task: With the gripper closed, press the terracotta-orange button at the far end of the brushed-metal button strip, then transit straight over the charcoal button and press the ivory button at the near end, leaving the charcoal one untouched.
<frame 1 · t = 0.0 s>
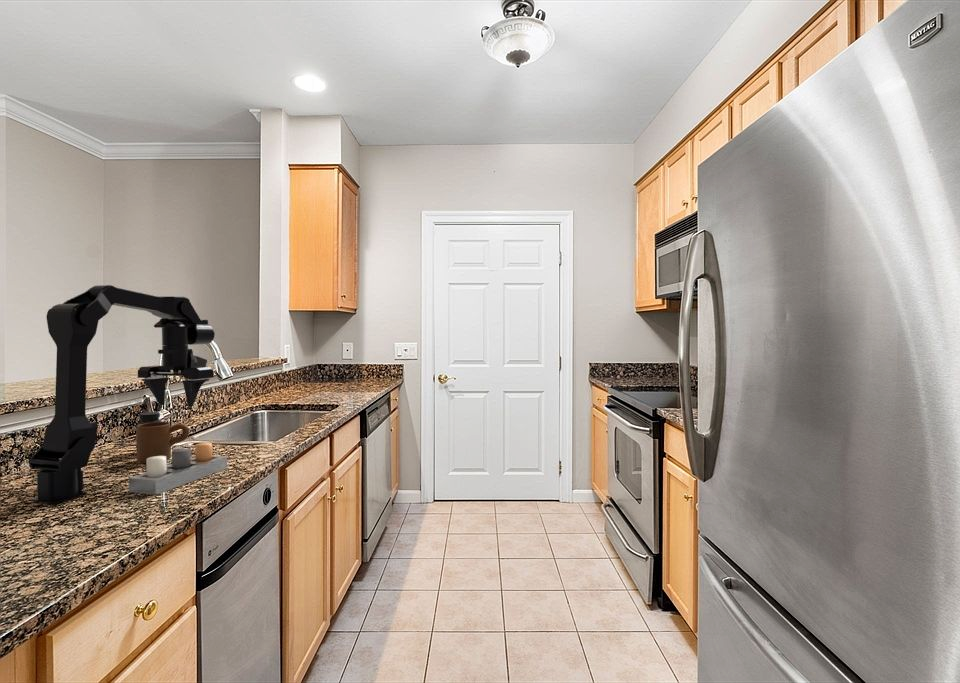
hand: (176, 405, 127), 15 cm above the countertop, fingers open, 9 cm apart
button ivory: (156, 468, 107), point 4 cm above the countertop, slide at 0.0 cm
button strip: (181, 479, 113), on the countertop
button orange: (203, 453, 119), point 4 cm above the countertop, slide at 0.0 cm
mug: (163, 459, 131), on the countertop
pill bottle: (150, 452, 138), on the countertop
button charcoal: (181, 460, 113), point 4 cm above the countertop, slide at 0.0 cm
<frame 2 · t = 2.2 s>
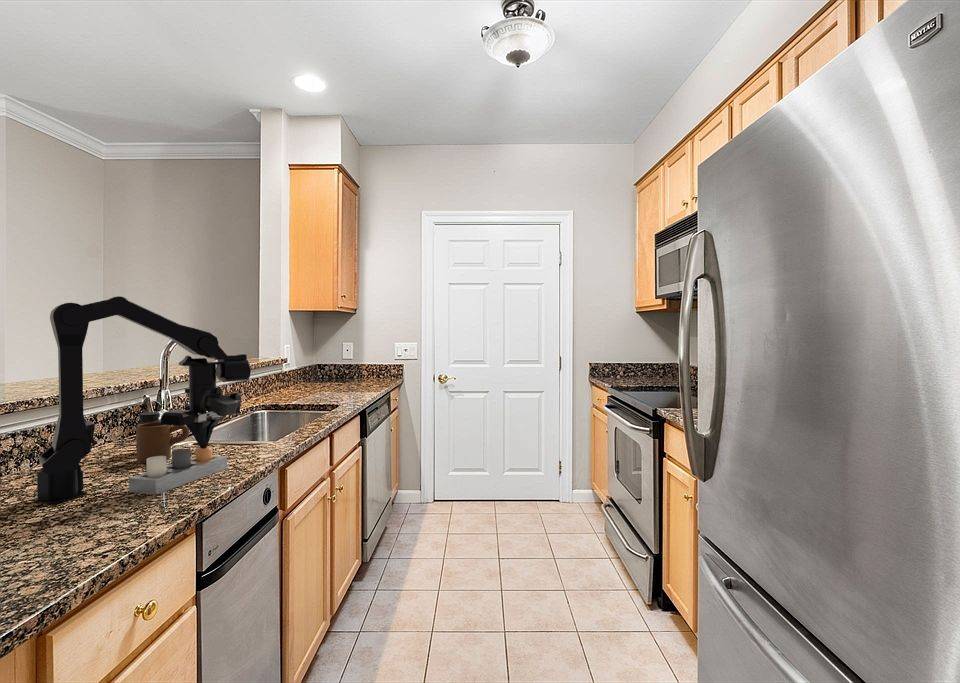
hand: (203, 448, 119), 6 cm above the countertop, fingers closed, pressing on button orange
button orange: (204, 457, 119), point 3 cm above the countertop, slide at 0.9 cm, touching gripper
everything else where it was.
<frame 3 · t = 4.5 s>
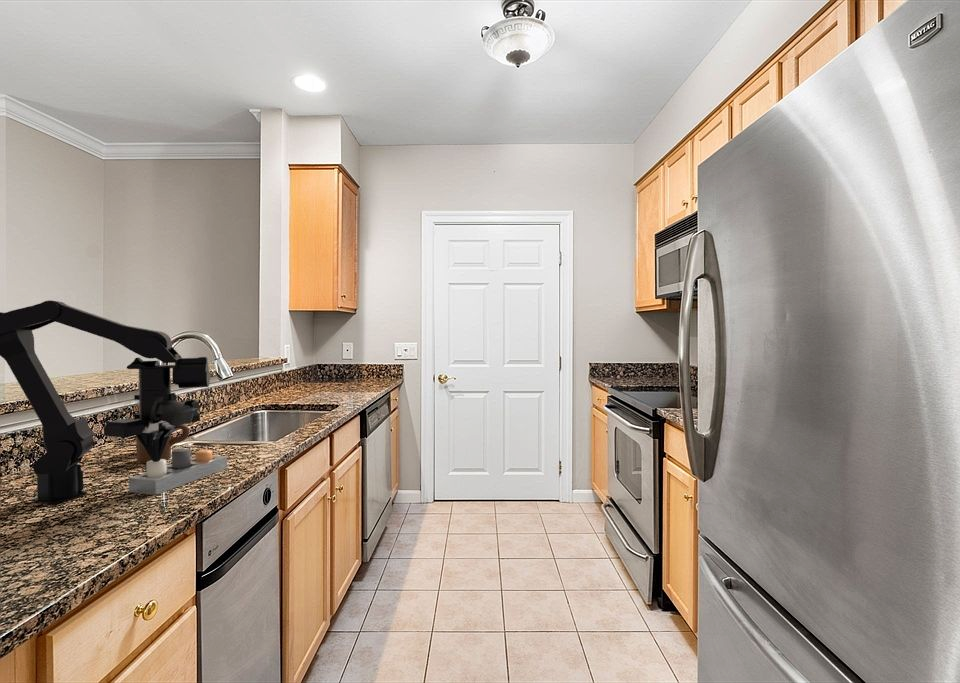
hand: (156, 461, 107), 6 cm above the countertop, fingers closed, pressing on button ivory
button ivory: (156, 471, 107), point 4 cm above the countertop, slide at 0.7 cm, touching gripper
button orange: (204, 460, 119), point 3 cm above the countertop, slide at 1.8 cm
everything else where it was.
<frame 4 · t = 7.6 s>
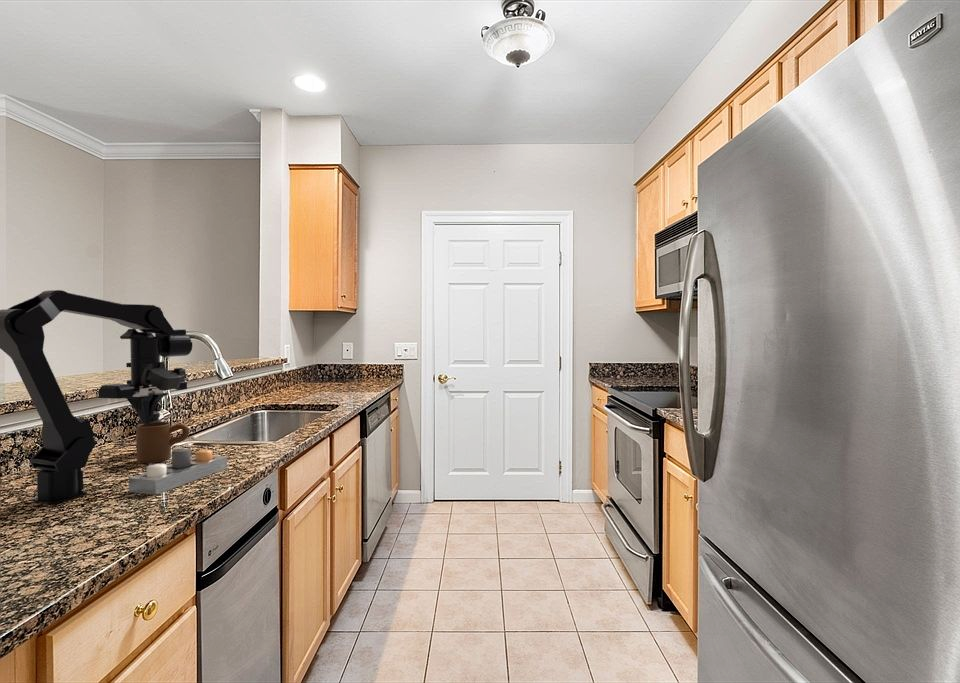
hand: (146, 423, 117), 12 cm above the countertop, fingers closed
button ivory: (156, 476, 107), point 3 cm above the countertop, slide at 1.8 cm
everything else where it was.
at the end: button orange slide at 1.8 cm; button ivory slide at 1.8 cm; button charcoal slide at 0.0 cm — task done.
